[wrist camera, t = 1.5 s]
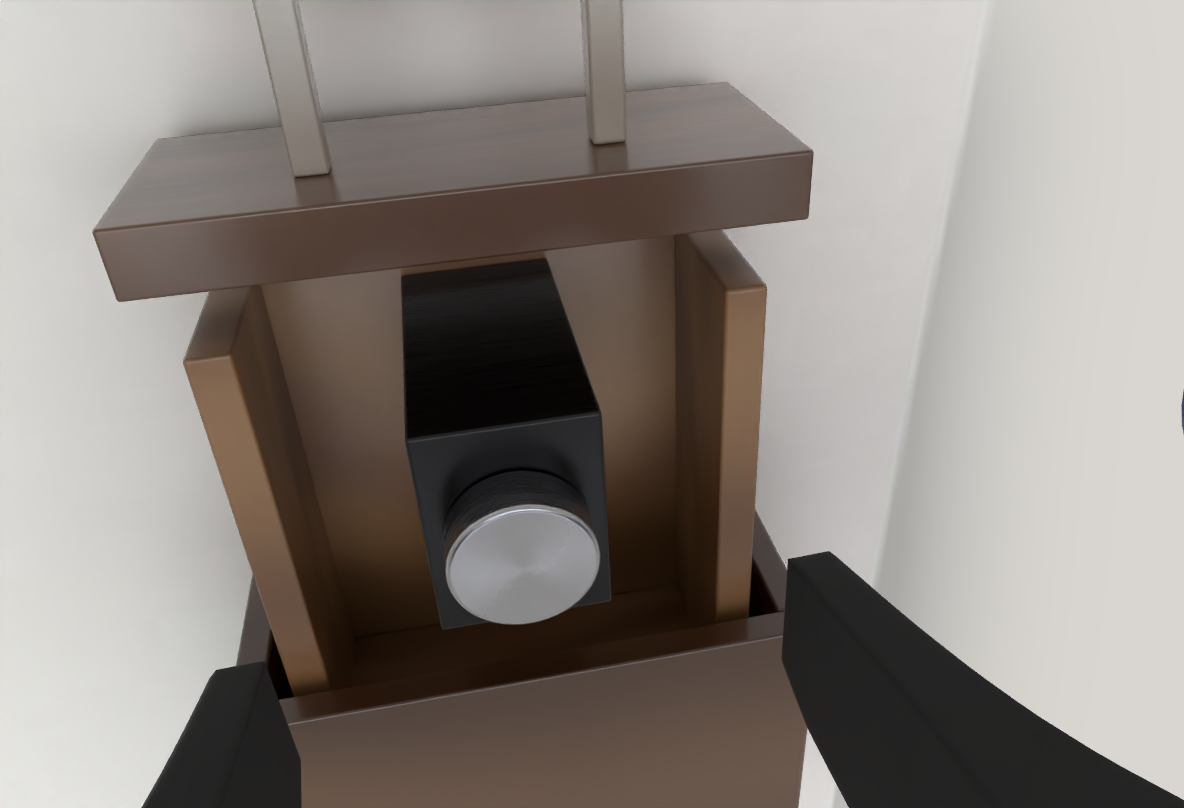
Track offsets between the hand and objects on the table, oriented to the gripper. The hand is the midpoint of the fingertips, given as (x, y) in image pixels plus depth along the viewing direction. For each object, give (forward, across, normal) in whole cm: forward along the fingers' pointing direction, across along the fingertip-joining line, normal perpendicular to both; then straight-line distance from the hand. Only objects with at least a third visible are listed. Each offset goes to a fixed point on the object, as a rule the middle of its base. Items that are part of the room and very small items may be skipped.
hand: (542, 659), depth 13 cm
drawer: (+10, 0, 0) cm, 10 cm away
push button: (+9, 0, 0) cm, 9 cm away
